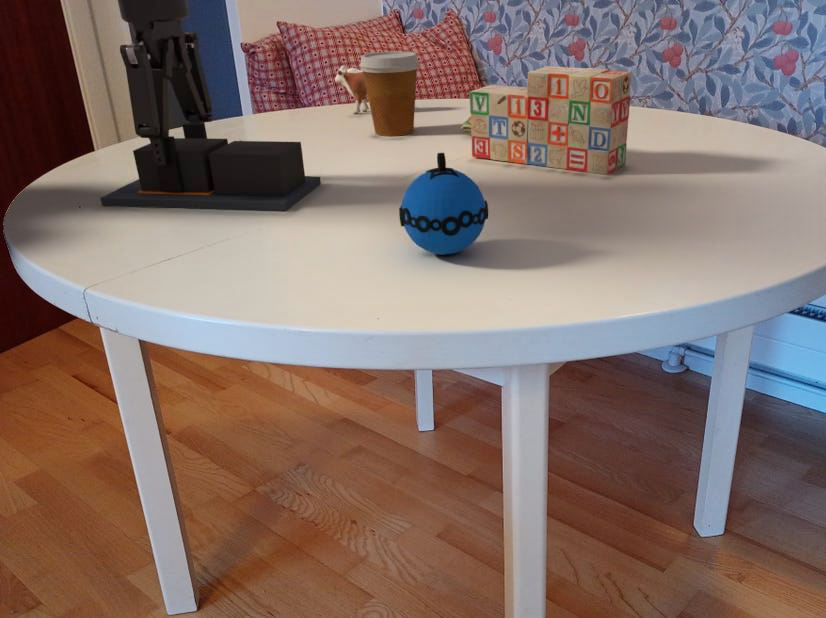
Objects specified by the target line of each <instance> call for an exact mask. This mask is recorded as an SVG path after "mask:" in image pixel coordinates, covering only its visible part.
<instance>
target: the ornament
mask: <svg viewBox="0 0 826 618" xmlns="http://www.w3.org/2000/svg"><path fill="white" fill-rule="evenodd" d="M436 163H437V167H435V168H431V169H428V170H426V171H425V172H424V173H422V174H420V175H419V176H418V177H416V178H415V179H414V180H413V181H412V182H411V183H410V185H409V186H408V187H407V189H406V190H405V193H404V196H403V198H402V202H401V205H400V207H398V214H399V223H400V227H403V228H404V229H405V232H406V234H407V235H408V237H409V238H410V240H411V241H412V242H413V243H415V244H416V246H418V247H419V248H421V249H422V250H424V251H425V252H429V253H431V254H434V255H438V256H451V255H454V254H458V253H461V252H462V251H464V250H466V249H467V248H469V247H470V246H471V245H473V244H474V243H475V241H476V240H477V239H478V238H479V237H480V235H481V233H482V231H483V230H484V226H485V223H486V220H488V219H489V205H488V201H487V200H485V197H484V194H483V192H482V191H481V189H480V188H479V185H478V184H477V183H476V182H475V181H474V180H473V179H472V178H471V177H470V176H468V175H466V174H465V173H464V172H461V171H458V170H457V169H454V168H453V167H447V162H446V155H445V152H438V153H437V154H436Z"/></svg>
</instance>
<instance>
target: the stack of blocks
mask: <svg viewBox="0 0 826 618" xmlns="http://www.w3.org/2000/svg"><path fill="white" fill-rule="evenodd" d="M526 78H527V80H526V81H527V85H526V86H527V87H526V86H514V85H513V86H512V85H510V86H509V85H501V84H500V85H499V84H489V85H485V86H483V87H480V88H477V89H474V90H470V91H469V113H470V117H471V134H470V135H471V156H472V158H481V159H490V160H492V161H501V162H510V163H516V164H524V165H532V166H540V167H547V168H555V169H563V170H569V171H577V172H584V173H589V174H598V175H606V176H607V175H610V174H612V173H613V172H615V171H616V170H618V169H620V168H622V167H623V166H625V165H626V160H627V146H628V145H627V141H628V129H629V117H630V106H631V105H630V102H631V83H632V72H631V71H622V70H621V71H619V70H610V69H609V68H599V67H598V68H597V67H587V68H584V67H566V66H565V67H564V66H550V65H547V66H544V67H541V68H537V69H535V70H531V71H527V77H526Z"/></svg>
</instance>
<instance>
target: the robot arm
mask: <svg viewBox="0 0 826 618" xmlns="http://www.w3.org/2000/svg"><path fill="white" fill-rule="evenodd" d="M117 4H118V8H119V13H120V17H121V19H122V21H123V22H125V23H130V24H132V26H133V42H131V43H130V44H120V46H119V53H120V55H121V59H122V61H123V65H124V67H125V74H126V80H127V86H128V92H129V93H128V94H129V99H130V107H131V112H132V119H133V120H132V121H133V127H134V132H135V134H136V135H137V136H139V138H141V139H148V140H149V142H150V143H151V147H152V152H153V156H154V161H155V164H156V168H157V173H158V178H159V183H160V187H161V191H170V192H182V191H184V185H183V180H182V175H181V170H180V165H179V159H178V154H177V149H176V144H175V139H174V138H175V136H173V135H172V136H171V135H170V112H169V109H170V108H169V107H170V106H169V105H170V103H169V102H170V101H169V100H170V99H169V98H170V97H169V96H170V95H169V82H170V85H171V87H172V90H173V92H174V95H175V97H176V100H177V102H178V105H179V108H180V111H181V112H182V115H183V117H184V119H185V121H186V122H184V123H182V124H181V126H182V131H183V136H184V137H183V138H208V135H207V129H206V123H207V122H208V123H211V122H212V121H213V114H212V113H213V105H212V102H211V97H210V92H209V88H208V84H207V79H206V76H205V71H204V68H203V63H202V59H201V54H200V43H199V35H198V33H196V32H185V30H184V28H183V26H182V23H181V21H182V20H183V21H184V20H186V19H188V18H189V17H190V9H189V3H188V0H117Z"/></svg>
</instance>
